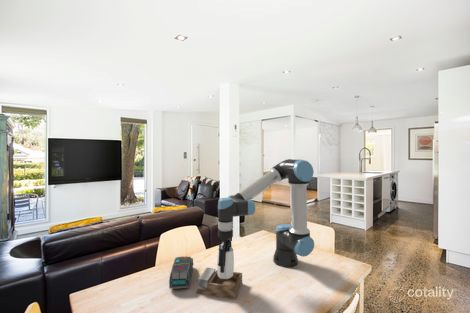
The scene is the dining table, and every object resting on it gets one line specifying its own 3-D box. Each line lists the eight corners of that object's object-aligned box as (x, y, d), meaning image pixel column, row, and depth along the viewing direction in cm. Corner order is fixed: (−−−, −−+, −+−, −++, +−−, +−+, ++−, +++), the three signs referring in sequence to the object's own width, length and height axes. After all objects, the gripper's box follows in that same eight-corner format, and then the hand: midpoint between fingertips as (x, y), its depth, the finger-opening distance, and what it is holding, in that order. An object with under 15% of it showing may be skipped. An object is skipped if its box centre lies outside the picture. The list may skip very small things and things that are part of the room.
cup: (214, 274, 123) (214, 247, 123) (230, 271, 126) (230, 245, 126) (220, 283, 115) (220, 254, 115) (236, 279, 118) (236, 251, 118)
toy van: (193, 267, 144) (193, 250, 144) (190, 290, 119) (189, 271, 119) (175, 267, 143) (175, 251, 143) (168, 292, 118) (168, 272, 118)
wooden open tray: (242, 283, 126) (242, 271, 126) (235, 299, 112) (235, 285, 112) (206, 278, 131) (206, 266, 131) (196, 292, 117) (196, 279, 117)
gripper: (224, 222, 131) (224, 263, 132) (211, 235, 111) (211, 283, 111) (237, 223, 129) (237, 265, 130) (226, 237, 109) (226, 286, 109)
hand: (225, 273), depth 121 cm, fingers closed on cup, 8 cm apart
